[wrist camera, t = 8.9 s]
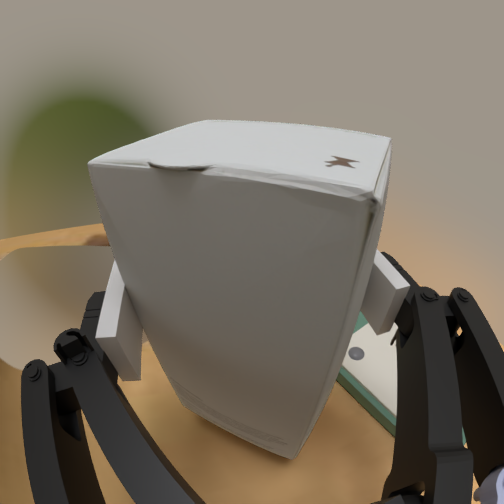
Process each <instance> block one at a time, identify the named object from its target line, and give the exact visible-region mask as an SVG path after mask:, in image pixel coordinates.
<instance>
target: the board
mask: <svg viewBox="0 0 504 504" xmlns="http://www.w3.org/2000/svg"><path fill="white" fill-rule="evenodd" d="M397 329H398V326H397V325H396V324H395V322H394V324H393V326H392V328H391V330H390V331H389V332H386V333H383V334H380V335H376V334H375V332H374V331H373V329H372V327H371V326H370V324H369V323H368V321H367V320H366V318H365V317H364V315H363V314H362V312H361V311H360V312H359V316H358V319H357V322H356V325H355V328H354V331H353V334H352V337H351V340H350V343H349V346H348V349H347V352H346V355H345V358H344V360H343V363H342V366H341V368H340V371H339V373H338V376H337V378H336V380H337V381H338V382H339V383H340V384H341V385H342V386H343V387H344V388H345V389H346V390H347V391H348V392H349V393H350V394H351V395H352V396H353V397H354V398H355V399H356V400H357V401H358V402H359V403H360V404H361V405H362V406H363V407H364V408H365V409H366V410H367V411H368V412H369V413H370V414H371V415H372V416H373V417H374V418H375V419H376V420H377V421H378V422H379V423H380V424H382V425H383V426H384V427H385V428H386V429H387V430H388V431H389V432H390V433H391V434H392V435H393V436H394V437H395V432H396V414H397V352H396V346H395V345H396V340H395V341H394V343H393V345H390V343H391V340H392V338H393V337H394V335H395V333H396V331H397ZM462 435H463V446H464V444H465V443H466V438H465V434H464V430H463V427H462Z"/></svg>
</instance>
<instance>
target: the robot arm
mask: <svg viewBox="0 0 504 504" xmlns="http://www.w3.org/2000/svg"><path fill="white" fill-rule="evenodd" d="M360 311H361V312H362V314H363V315H364V317H365V318H366V320H367V321H368V323H369V324H370V326H371V327H372V329H373V331H374V332H375V334H376V335H380V334H383V333H386V332H389V331H390V330H391V328H392V326H393V324H394V322H395V324H396V325H397V326H398V329H397V331H396V333H395V335H394V337H393V338H392V340H391V343H390V345H393V343H394V341H395V340H396V345H395V346H396V352H397V414H396V432H395V445H394V455H393V464H392V469H391V472H390V474H389V476H388V477H387V479H386V481H385V484H384V488H383V493H382V498H381V501H378V502H374V503H371V504H471V499H472V487H473V473H474V476H475V479H476V481H477V483H478V485H479V488H477V489H476V490H475V492H474V495H473V498H474V500H475V501H480V502H481V504H504V352H503V350H502V348H501V346H500V344H499V342H498V340H497V338H496V336H495V334H494V332H493V331H492V329H491V327H490V325H489V323H488V321H487V320H486V318H485V316H484V314H483V313H482V311H481V309H480V308H479V306H478V304H477V303H476V301H475V299H474V298H473V296H472V295H471V294H470V293H469V292H468V291H467V290H465V289H463V288H458V287H457V288H454V289H453V290H452V292H451V294H450V296H439V295H438V294H437V293H436V292H435V291H434V290H432V289H431V288H428V287H420V286H419V285H418V284H417V283H416V282H415V281H414V280H413V278H412V277H411V276H410V275H409V274H408V273H407V272H406V271H405V270H403V268H402V267H401V266H400V265H399V264H398V262H397V261H396V260H395V259H394V258H393V257H392V256H390V255H388V254H387V253H385V252H379V251H378V250H376V254H375V258H374V262H373V266H372V270H371V274H370V278H369V281H368V285H367V289H366V292H365V296H364V299H363V303H362V306H361V309H360ZM83 318H84V319H83V320H82V324H81V328H80V330H79V329H77V328H75V329H73V328H71V329H69V330H65V331H64V332H62V333H61V334H60V335H59V336H58V337H57V338H56V340H55V343H54V352H55V353H56V354H57V356H58V357H59V358H60V360H61V362H58V363H55V364H52V365H49V366H47V365H46V363H45V362H44V361H42V360H40V359H37V360H33V361H30V362H29V363H28V364H27V365H26V366H25V368H24V369H23V371H22V376H21V409H22V428H23V439H24V448H25V456H26V463H27V469H28V474H29V480H30V484H31V489H32V493H33V498H34V502H35V504H106V503H105V500H104V497H103V495H102V492H101V489H100V486H99V483H98V480H97V476H96V473H95V470H94V466H93V463H92V459H91V455H90V451H89V447H88V443H87V439H86V434H85V430H84V425H83V420H82V414H81V409H82V411H83V413H84V415H85V417H86V419H87V422H88V424H89V426H90V428H91V430H92V432H93V434H94V436H95V438H96V440H97V442H98V444H99V446H100V447H101V449H102V451H103V453H104V455H105V456H106V458H107V460H108V462H109V463H110V465H111V467H112V468H113V470H114V472H115V473H116V475H117V477H118V478H119V480H120V481H121V483H122V484H123V486H124V487H125V489H126V490H127V492H128V493H129V495H130V496H131V498H132V499H133V500H134V502H135V503H136V504H206V503H205V502H204V501H203V500H202V499H201V498H200V497H199V496H198V495H197V493H196V492H195V491H194V490H193V489H192V488H191V487H190V486H189V484H188V483H187V482H186V481H185V480H184V479H183V477H182V476H181V475H180V474H179V473H178V471H177V470H176V469H175V468H174V466H173V465H172V464H171V463H170V461H169V460H168V459H167V458H166V456H165V455H164V454H163V452H162V451H161V450H160V448H159V447H158V445H157V444H156V443H155V441H154V440H153V439H152V437H151V436H150V434H149V433H148V431H147V430H146V428H145V427H144V425H143V424H142V422H141V421H140V419H139V418H138V416H137V415H136V413H135V411H134V410H133V408H132V407H131V405H130V403H129V402H128V400H127V398H126V397H125V395H124V393H123V392H122V390H121V388H120V387H119V385H118V384H117V380H118V375H119V376H120V378H121V379H122V381H138V380H141V351H142V332H143V327H142V325H141V323H140V321H139V318H138V316H137V314H136V311H135V309H134V307H133V304H132V302H131V300H130V297H129V294H128V292H127V289H126V287H125V284H124V282H123V280H122V277H121V275H120V272H119V269H118V267H117V264H116V261H114V264H113V267H112V271H111V274H110V278H109V282H108V286H107V289H106V291H103V292H95V293H94V294H93V295H92V296H91V298H90V299H89V300H88V303H87V306H86V312H85V313H84V317H83ZM459 327H461V329H462V331H463V332H462V333H461V335H460V336H458V334H457V330H458V329H459ZM462 427H463V430H464V434H465V438H466V443H467V447H468V449H467V448H465V447H464V446H463V435H462ZM424 490H425V493H424V496H421V493H422V492H423V491H424Z"/></svg>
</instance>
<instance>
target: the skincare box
mask: <svg viewBox="0 0 504 504" xmlns="http://www.w3.org/2000/svg"><path fill="white" fill-rule="evenodd" d="M391 153H392V139H391V138H389V137H384V136H379V135H374V134H369V133H363V132H357V131H351V130H344V129H337V128H330V127H322V126H314V125H303V124H291V123H290V124H289V123H277V122H260V121H233V120H204V121H199V122H195V123H191V124H188V125H185V126H181V127H179V128H175V129H172V130H169V131H166V132H163V133H160V134H158V135H155V136H152V137H149V138H146V139H143V140H140V141H138V142H135V143H132V144H129V145H126V146H124V147H121V148H118V149H115V150H113V151H110V152H107V153H105V154H103V155H101V156H98V157H96V158H94V159H93V160H91V161H90V162H88V169H89V174H90V178H91V182H92V186H93V190H94V193H95V197H96V201H97V204H98V208H99V212H100V215H101V218H102V222H103V225H104V228H105V231H106V234H107V238H108V241H109V244H110V247H111V249H112V252H113V255H114V258H115V261H116V264H117V267H118V269H119V272H120V275H121V277H122V280H123V282H124V284H125V287H126V289H127V292H128V294H129V297H130V300H131V302H132V304H133V307H134V309H135V311H136V314H137V316H138V318H139V321H140V323H141V325H142V327H143V329H144V332H145V334H146V336H147V338H148V340H149V342H150V344H151V346H152V349H153V351H154V353H155V355H156V357H157V358H158V360H159V362H160V364H161V366H162V368H163V370H164V372H165V374H166V376H167V378H168V379H169V381H170V383H171V385H172V387H173V389H174V390H175V392H176V394H177V396H178V398H179V399H180V401H181V403H182V405H183V406H185V407H186V408H188V409H189V410H191V411H193V412H194V413H196V414H198V415H199V416H201V417H203V418H204V419H206V420H208V421H210V422H211V423H213V424H215V425H217V426H219V427H220V428H222V429H224V430H226V431H228V432H230V433H232V434H234V435H236V436H238V437H240V438H242V439H244V440H246V441H248V442H250V443H252V444H254V445H256V446H258V447H261V448H263V449H265V450H267V451H270V452H272V453H275V454H277V455H280V456H282V457H285V458H288V459H291V460H293V459H295V458H296V457H297V455H298V453H299V452H300V450H301V448H302V447H303V445H304V443H305V441H306V440H307V438H308V436H309V434H310V433H311V431H312V429H313V427H314V425H315V423H316V422H317V420H318V418H319V416H320V414H321V412H322V410H323V408H324V406H325V404H326V401H327V399H328V397H329V395H330V393H331V390H332V388H333V386H334V383H335V381H336V378H337V376H338V373H339V371H340V368H341V366H342V363H343V360H344V358H345V355H346V352H347V349H348V346H349V343H350V340H351V337H352V334H353V331H354V328H355V325H356V322H357V319H358V316H359V312H360V309H361V306H362V303H363V299H364V296H365V292H366V289H367V285H368V281H369V278H370V274H371V270H372V266H373V262H374V258H375V254H376V250H377V245H378V241H379V236H380V232H381V226H382V221H383V216H384V210H385V204H386V198H387V191H388V184H389V175H390V165H391V164H390V163H391Z"/></svg>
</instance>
